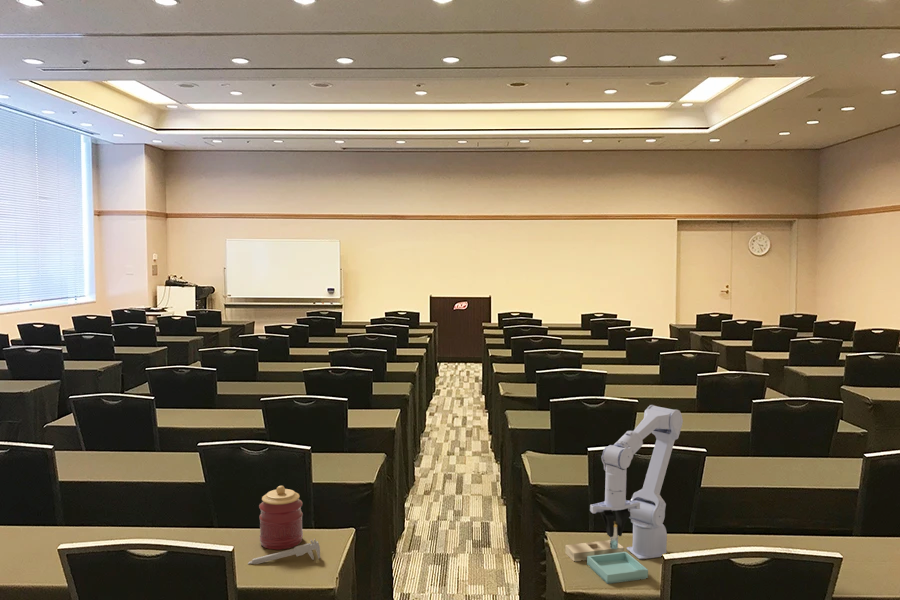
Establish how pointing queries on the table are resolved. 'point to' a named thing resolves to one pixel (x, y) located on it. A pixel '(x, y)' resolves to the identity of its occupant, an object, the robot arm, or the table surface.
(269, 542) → the canister
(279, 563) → the table surface
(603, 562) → the tray
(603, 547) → the beige slotted block
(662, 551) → the robot arm
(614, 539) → the pin
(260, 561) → the caliper
